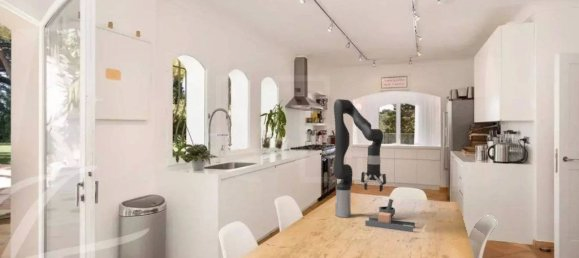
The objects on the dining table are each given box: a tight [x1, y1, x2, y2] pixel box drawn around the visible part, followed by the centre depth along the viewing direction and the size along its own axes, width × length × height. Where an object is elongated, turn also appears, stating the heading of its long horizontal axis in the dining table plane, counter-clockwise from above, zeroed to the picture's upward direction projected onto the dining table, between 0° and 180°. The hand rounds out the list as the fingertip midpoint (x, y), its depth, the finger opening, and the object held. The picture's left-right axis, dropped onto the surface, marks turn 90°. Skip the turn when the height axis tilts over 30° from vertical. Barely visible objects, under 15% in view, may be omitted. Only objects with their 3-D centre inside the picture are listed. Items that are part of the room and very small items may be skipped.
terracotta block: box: [377, 212, 392, 223], centre depth 197 cm, size 6×6×7 cm
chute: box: [364, 216, 416, 233], centre depth 196 cm, size 26×9×4 cm, turn 63°
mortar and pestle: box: [378, 198, 396, 220], centre depth 215 cm, size 11×9×12 cm
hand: (373, 190), depth 201 cm, fingers open, 8 cm apart
